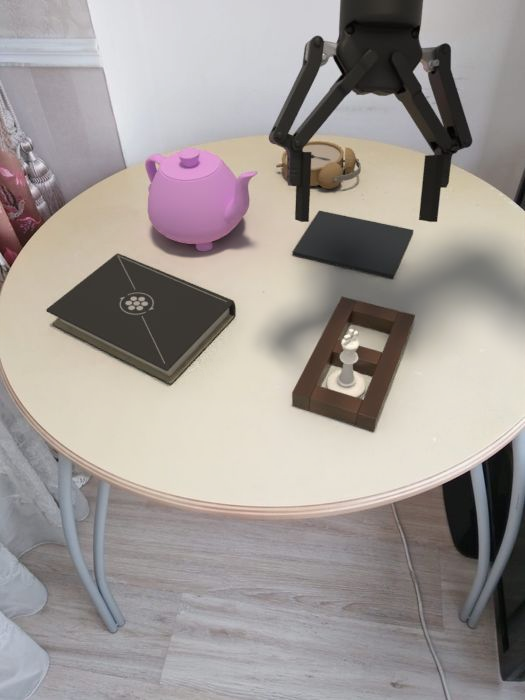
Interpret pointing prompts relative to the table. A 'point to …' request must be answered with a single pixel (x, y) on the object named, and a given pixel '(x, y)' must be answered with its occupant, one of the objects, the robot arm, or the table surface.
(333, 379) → the chess piece
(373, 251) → the mat
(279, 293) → the table surface
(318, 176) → the alarm clock
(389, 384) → the holder
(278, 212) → the table surface
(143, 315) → the book
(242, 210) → the teapot
